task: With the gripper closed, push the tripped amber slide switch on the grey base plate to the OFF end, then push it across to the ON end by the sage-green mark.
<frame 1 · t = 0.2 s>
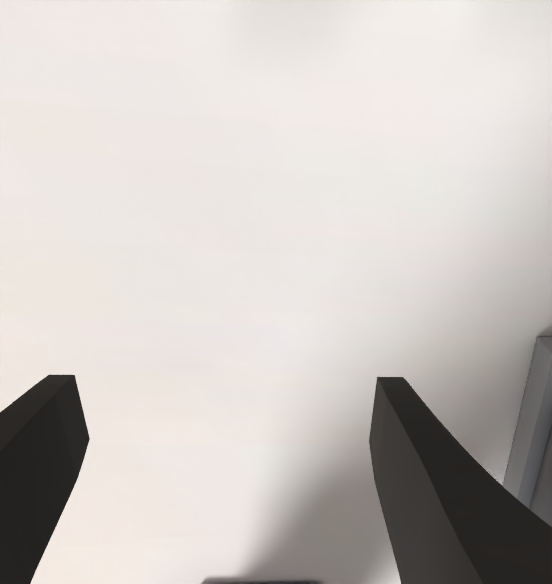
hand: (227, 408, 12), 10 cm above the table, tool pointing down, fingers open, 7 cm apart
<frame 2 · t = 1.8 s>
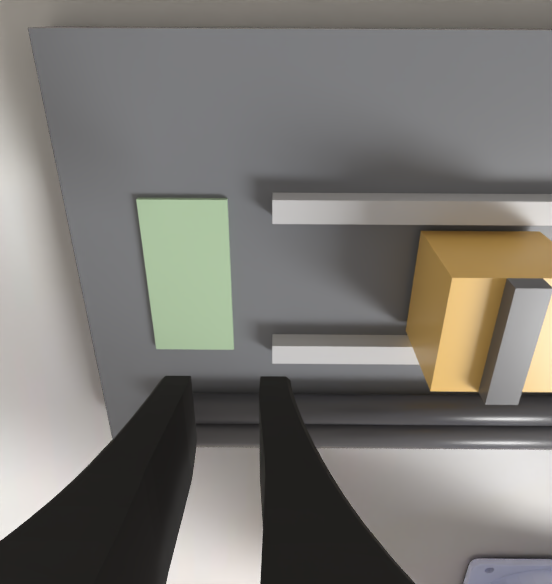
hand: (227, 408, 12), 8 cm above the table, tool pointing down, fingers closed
grey base plate: (453, 262, 19), on the table
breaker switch: (490, 313, 16), point 4 cm above the table, slide at 4.0 cm
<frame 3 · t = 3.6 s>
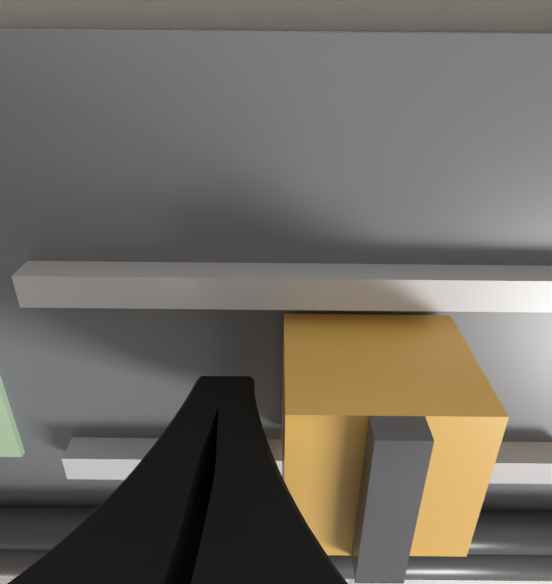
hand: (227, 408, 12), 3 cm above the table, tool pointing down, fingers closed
grey base plate: (315, 340, 15), on the table
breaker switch: (372, 438, 11), point 4 cm above the table, slide at 3.0 cm, touching gripper
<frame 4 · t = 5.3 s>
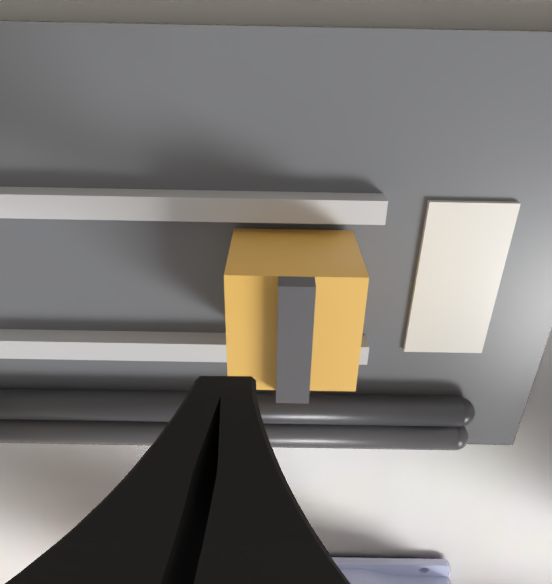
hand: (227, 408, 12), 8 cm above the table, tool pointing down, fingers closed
grey base plate: (185, 258, 19), on the table
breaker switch: (292, 311, 16), point 4 cm above the table, slide at -0.1 cm
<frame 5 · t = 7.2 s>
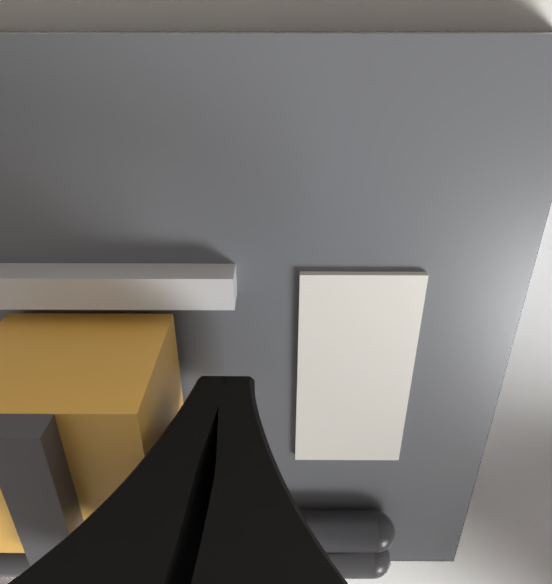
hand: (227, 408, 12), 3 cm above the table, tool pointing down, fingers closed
grey base plate: (4, 340, 15), on the table
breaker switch: (76, 436, 11), point 4 cm above the table, slide at 0.5 cm, touching gripper
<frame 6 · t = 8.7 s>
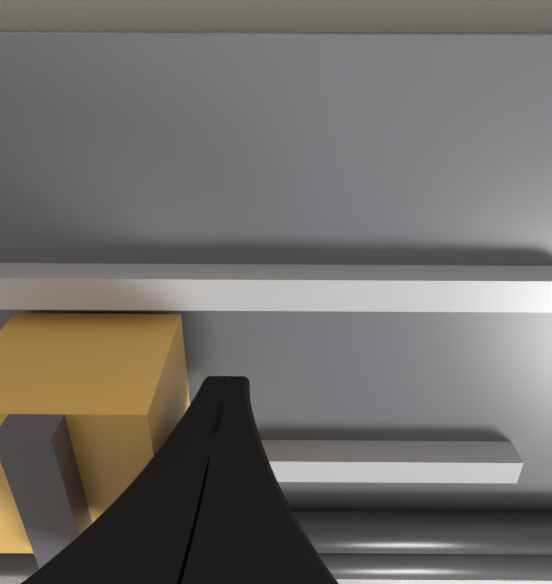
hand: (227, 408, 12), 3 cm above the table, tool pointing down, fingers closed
grey base plate: (269, 341, 15), on the table
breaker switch: (84, 437, 11), point 4 cm above the table, slide at 8.1 cm, touching gripper
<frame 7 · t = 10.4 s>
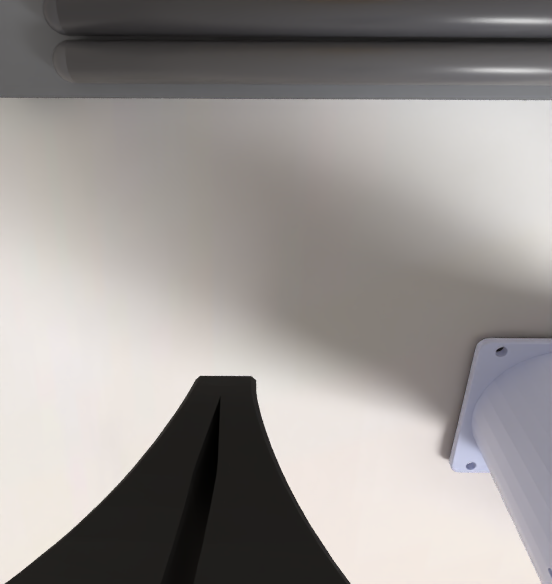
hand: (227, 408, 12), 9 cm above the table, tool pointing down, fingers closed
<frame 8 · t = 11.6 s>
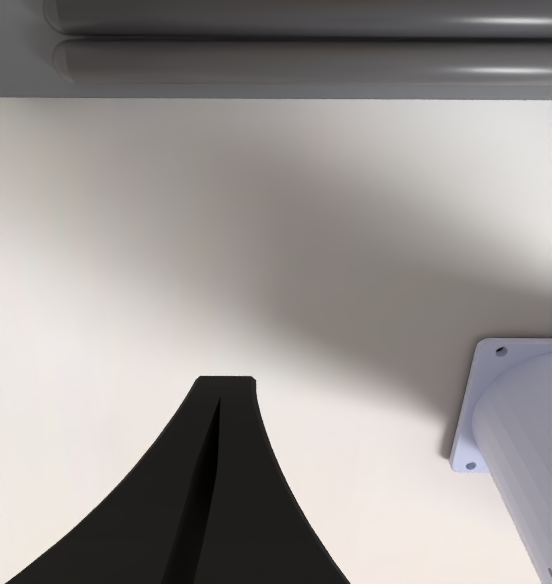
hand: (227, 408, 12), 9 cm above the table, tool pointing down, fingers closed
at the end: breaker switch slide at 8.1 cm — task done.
